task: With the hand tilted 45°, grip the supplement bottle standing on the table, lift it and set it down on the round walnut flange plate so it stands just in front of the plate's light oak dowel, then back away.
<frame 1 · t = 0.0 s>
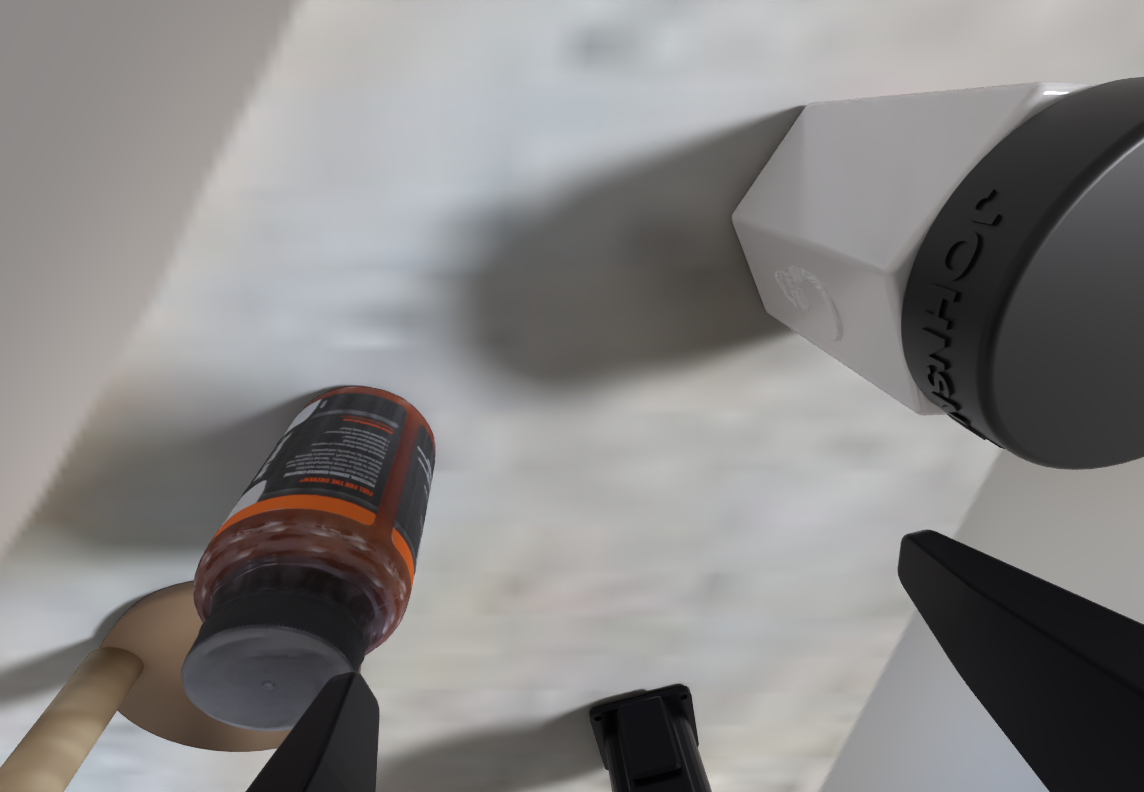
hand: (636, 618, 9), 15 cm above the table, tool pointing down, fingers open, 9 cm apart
flange plate: (241, 663, 28), on the table
jar: (833, 216, 21), on the table
supplement bottle: (368, 439, 23), on the table
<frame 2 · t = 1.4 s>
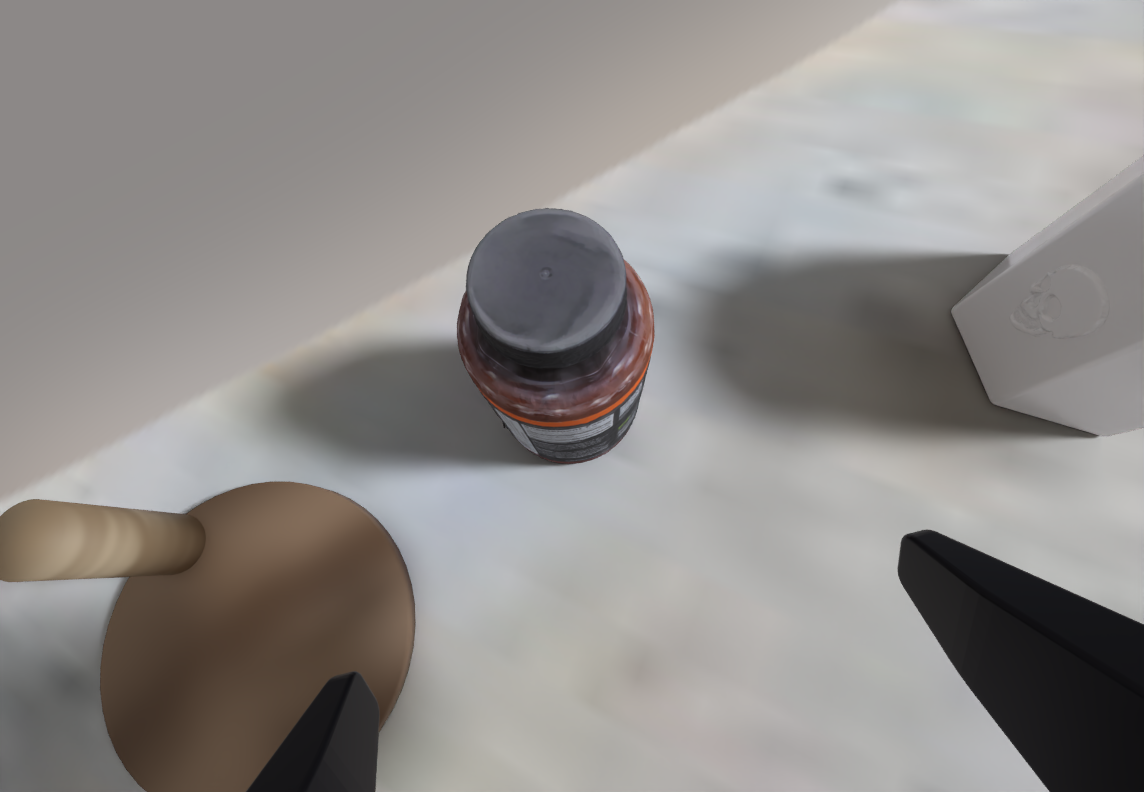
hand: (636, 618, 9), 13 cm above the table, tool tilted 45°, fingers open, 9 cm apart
flange plate: (269, 633, 21), on the table
jar: (1049, 342, 24), on the table
supplement bottle: (570, 402, 24), on the table
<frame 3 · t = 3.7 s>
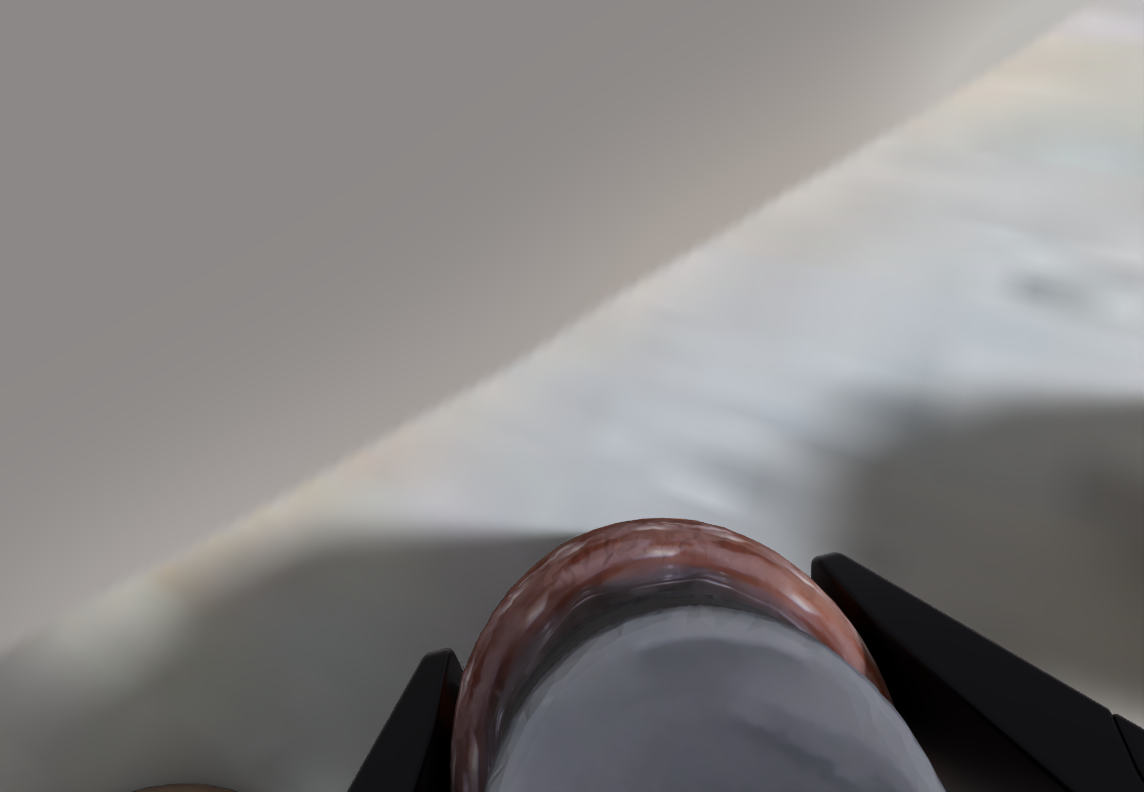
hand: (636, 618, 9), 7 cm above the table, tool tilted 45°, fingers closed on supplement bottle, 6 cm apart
supplement bottle: (633, 642, 15), on the table, touching gripper
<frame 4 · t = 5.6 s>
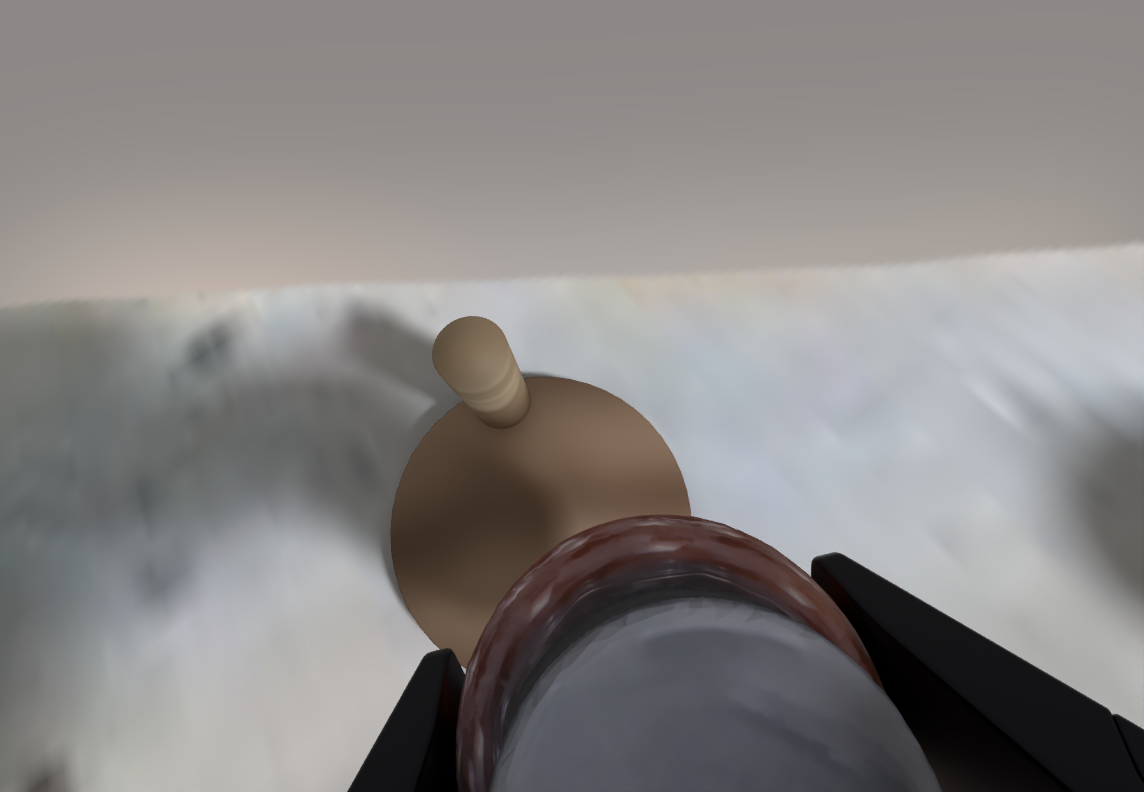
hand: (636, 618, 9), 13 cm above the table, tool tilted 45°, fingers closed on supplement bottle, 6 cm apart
flange plate: (542, 521, 22), on the table
supplement bottle: (631, 637, 15), point 6 cm above the table, touching gripper
when the fingers open (9 cm above the table, at t = 7.5 s): supplement bottle stays where it is, resting on flange plate.
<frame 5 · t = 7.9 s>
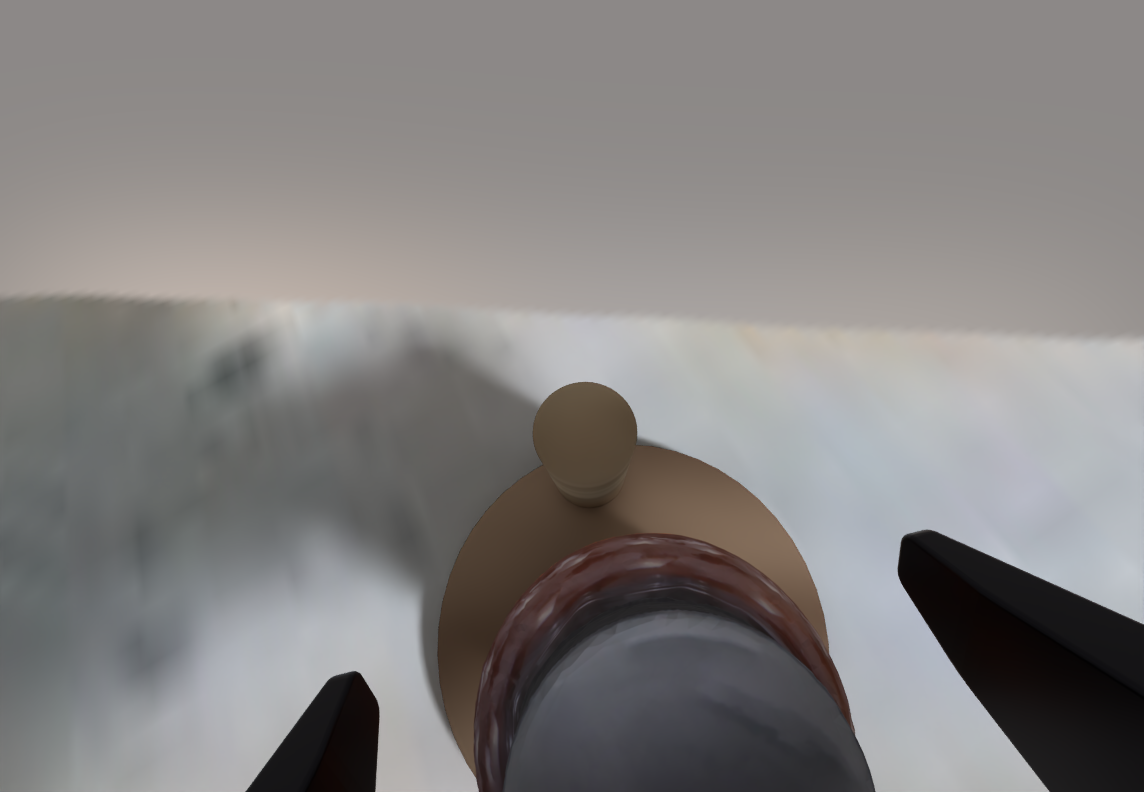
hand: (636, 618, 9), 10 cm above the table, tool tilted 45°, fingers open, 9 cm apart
flange plate: (627, 630, 17), on the table
supplement bottle: (630, 640, 16), point 1 cm above the table, touching flange plate
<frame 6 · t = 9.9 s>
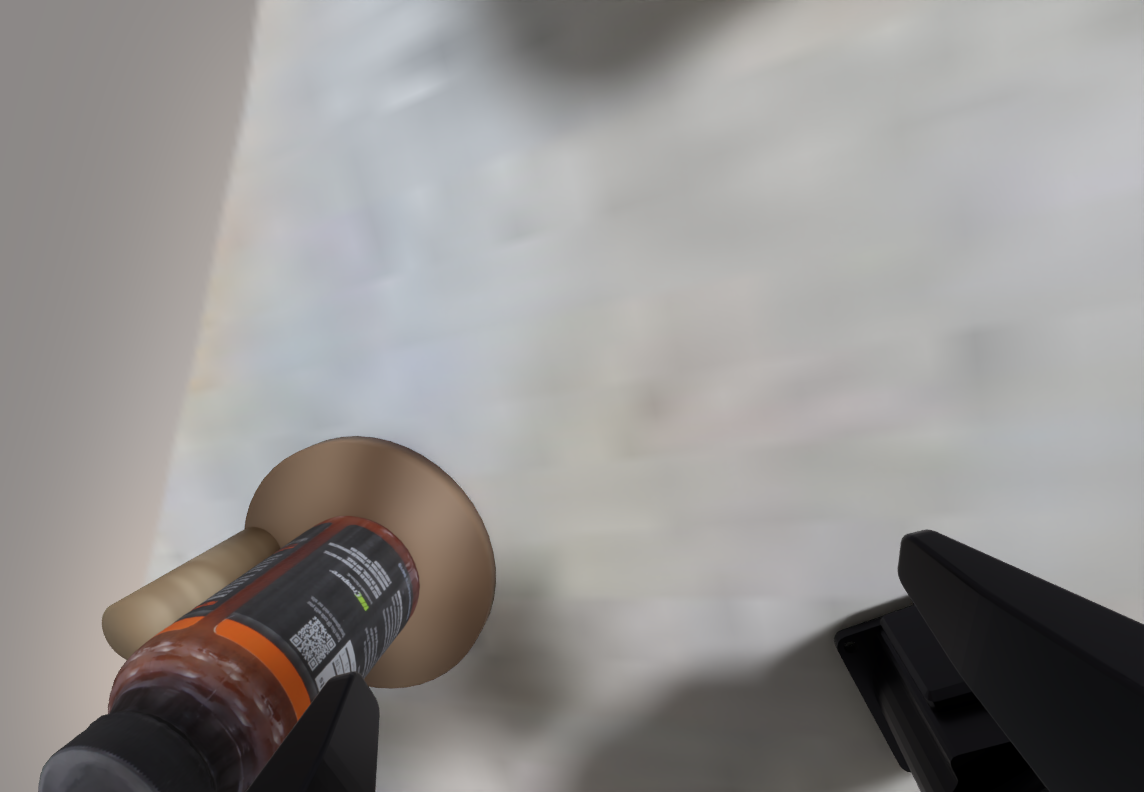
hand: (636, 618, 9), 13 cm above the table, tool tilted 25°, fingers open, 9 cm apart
flange plate: (373, 560, 25), on the table
supplement bottle: (366, 570, 24), point 1 cm above the table, touching flange plate
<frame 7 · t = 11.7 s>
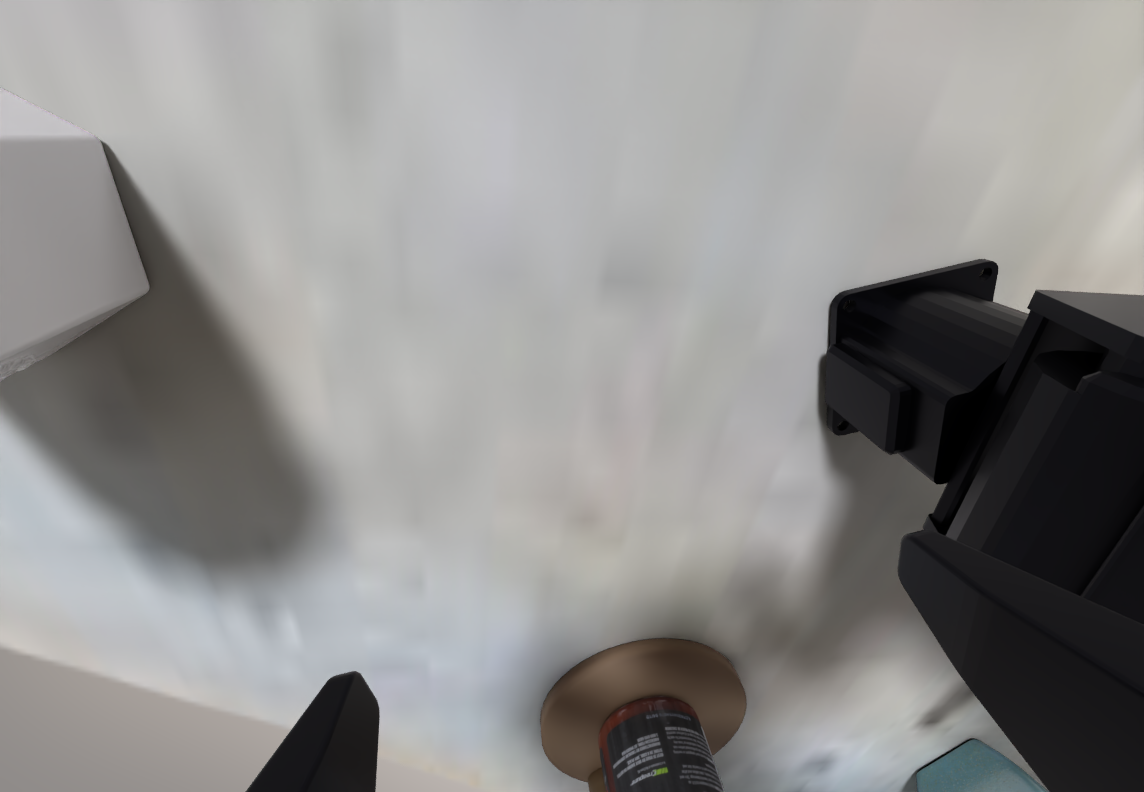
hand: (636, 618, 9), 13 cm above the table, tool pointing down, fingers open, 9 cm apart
flange plate: (641, 708, 31), on the table
flower pot: (955, 759, 39), on the table
supplement bottle: (646, 720, 30), point 1 cm above the table, touching flange plate
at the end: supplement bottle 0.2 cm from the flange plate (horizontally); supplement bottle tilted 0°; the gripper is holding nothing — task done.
